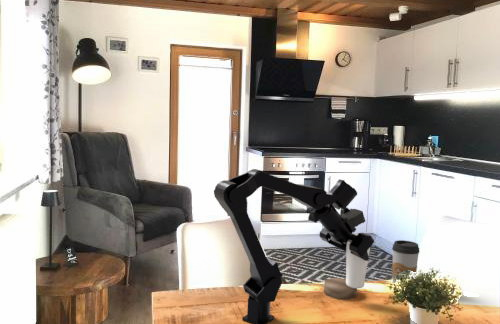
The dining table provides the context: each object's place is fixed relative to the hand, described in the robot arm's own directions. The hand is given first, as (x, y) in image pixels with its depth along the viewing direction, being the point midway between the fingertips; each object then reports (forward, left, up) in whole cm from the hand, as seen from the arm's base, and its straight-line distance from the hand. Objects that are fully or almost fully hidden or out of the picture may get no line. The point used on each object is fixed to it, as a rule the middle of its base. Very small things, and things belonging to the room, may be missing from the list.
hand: (359, 256), depth 134 cm
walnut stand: (+3, +7, -14) cm, 16 cm away
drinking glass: (-1, +1, -9) cm, 9 cm away
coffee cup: (+20, -8, -14) cm, 26 cm away
